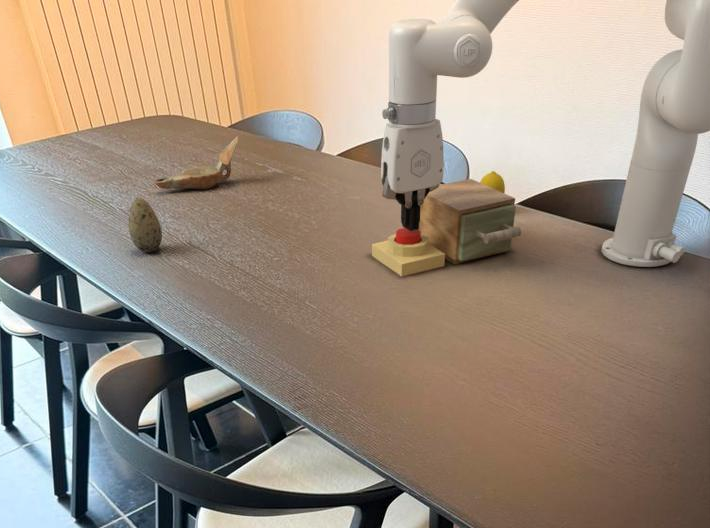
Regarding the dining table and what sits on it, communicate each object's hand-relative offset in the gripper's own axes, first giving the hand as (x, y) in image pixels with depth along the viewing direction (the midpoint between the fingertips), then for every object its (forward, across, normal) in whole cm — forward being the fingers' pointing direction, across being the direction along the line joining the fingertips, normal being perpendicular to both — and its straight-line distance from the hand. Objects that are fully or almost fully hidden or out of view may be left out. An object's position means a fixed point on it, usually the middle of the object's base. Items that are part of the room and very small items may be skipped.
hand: (410, 227), depth 119 cm
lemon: (+7, +28, +14) cm, 32 cm away
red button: (+3, 0, 0) cm, 3 cm away
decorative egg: (+6, -41, +30) cm, 51 cm away
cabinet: (+6, +12, +1) cm, 14 cm away
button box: (+6, 0, 0) cm, 6 cm away
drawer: (+5, +12, -3) cm, 14 cm away
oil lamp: (+6, -20, +64) cm, 67 cm away
